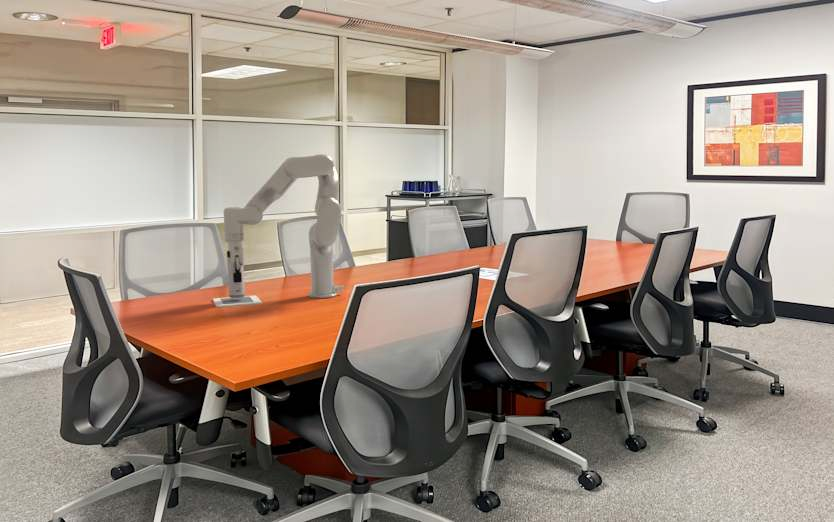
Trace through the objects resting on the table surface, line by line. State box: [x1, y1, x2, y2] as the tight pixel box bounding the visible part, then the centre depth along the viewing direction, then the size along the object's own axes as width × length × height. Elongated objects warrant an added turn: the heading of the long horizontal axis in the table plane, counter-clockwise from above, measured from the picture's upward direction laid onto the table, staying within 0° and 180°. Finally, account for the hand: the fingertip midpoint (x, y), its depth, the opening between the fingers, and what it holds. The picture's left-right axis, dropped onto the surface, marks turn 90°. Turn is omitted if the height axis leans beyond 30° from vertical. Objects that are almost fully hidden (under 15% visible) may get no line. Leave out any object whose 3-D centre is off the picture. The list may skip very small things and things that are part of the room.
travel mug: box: [226, 250, 246, 298], centre depth 299 cm, size 6×7×20 cm
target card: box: [212, 294, 263, 308], centre depth 301 cm, size 18×16×1 cm
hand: (236, 280), depth 300 cm, fingers closed on travel mug, 6 cm apart
